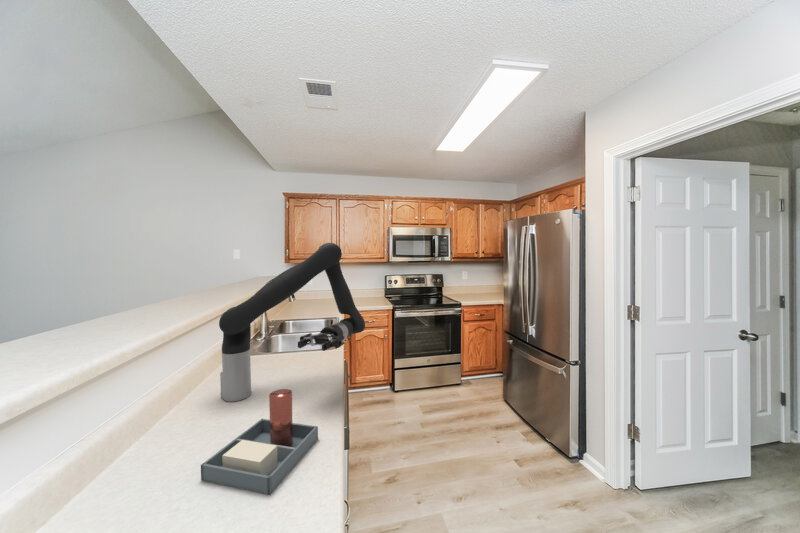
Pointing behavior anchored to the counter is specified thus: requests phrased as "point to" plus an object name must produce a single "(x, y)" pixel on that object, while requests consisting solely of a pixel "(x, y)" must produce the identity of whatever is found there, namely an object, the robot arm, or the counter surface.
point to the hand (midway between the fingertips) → (310, 346)
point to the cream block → (252, 457)
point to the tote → (252, 481)
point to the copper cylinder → (281, 417)
